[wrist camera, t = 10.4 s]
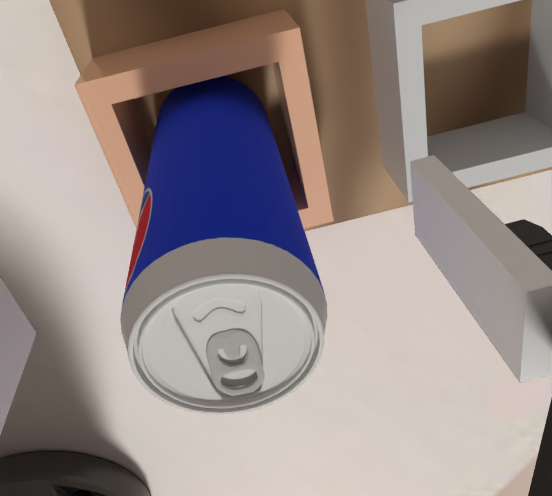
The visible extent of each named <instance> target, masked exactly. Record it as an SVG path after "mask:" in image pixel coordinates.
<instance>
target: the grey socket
mask: <svg viewBox="0 0 552 496" xmlns="http://www.w3.org/2000/svg"><path fill="white" fill-rule="evenodd" d="M516 1H520V0H365V2H366V12H367V22H368V31H369V41H370V50H371V60H372V69H373V79H374V89H375V98H376V108H377V117H378V127H379V136H380V146H381V156H382V165H383V167H384V169H385V170H386V171H387V173H388V174H389V176H390V177H391V179H392V180H393V181H394V183H395V184H396V186H397V187H398V188H399V190H400V191H401V193H402V194H403V196H404V197H405V198H406V200H407V201H408V203H409V202H413V197H412V184H411V171H410V161H413V160H417V159H420V158H424V157H428V156H432V155H434V156H435V157H436V158H437V159H439V160H440V161H441V162H442V163H443V164H444V165H445V166H446V167H447V168H448V169H449V170H450V171H451V172H452V173H453V174H454V175H455V176H456V177H457V178H458V179H459V180H460V181H461V182H462V183H463V184H464V185H465V186H466V187H467V188H469V187H473V186H477V185H481V184H485V183H489V182H493V181H497V180H501V179H505V178H509V177H513V176H517V175H521V174H525V173H529V172H533V171H537V170H541V169H545V168H549V167H552V0H532V11H531V27H530V43H529V59H528V75H527V91H526V106H525V112H523V113H519V114H515V115H511V116H507V117H503V118H499V119H495V120H491V121H488V122H484V123H480V124H476V125H472V126H468V127H464V128H460V129H456V130H452V131H448V132H444V133H440V134H436V135H432V136H428V137H427V127H426V107H425V87H424V66H423V46H422V26H421V25H425V24H429V23H433V22H437V21H441V20H445V19H449V18H453V17H457V16H461V15H465V14H469V13H473V12H476V11H480V10H484V9H488V8H492V7H496V6H500V5H504V4H508V3H512V2H516Z"/></svg>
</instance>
